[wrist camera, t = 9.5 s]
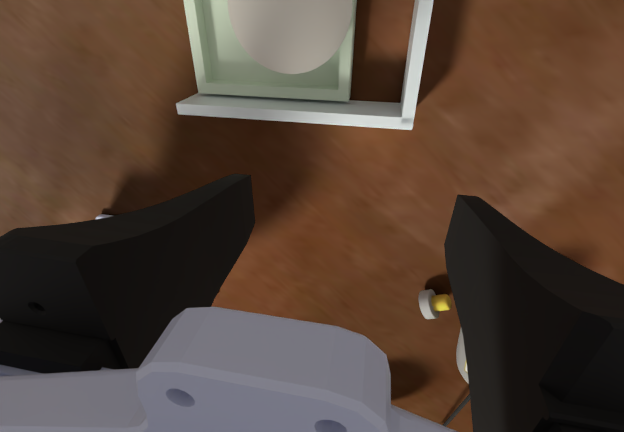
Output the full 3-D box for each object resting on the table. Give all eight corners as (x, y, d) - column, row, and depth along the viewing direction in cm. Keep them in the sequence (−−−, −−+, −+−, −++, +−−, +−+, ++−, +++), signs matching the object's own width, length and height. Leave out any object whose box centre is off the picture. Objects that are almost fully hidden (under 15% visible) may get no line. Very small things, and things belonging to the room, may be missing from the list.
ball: (225, 70, 18) (255, 90, 14) (206, -63, 15) (236, -91, 11) (320, 61, 20) (372, 76, 16) (319, -59, 17) (382, -82, 13)
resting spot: (207, 88, 22) (198, 93, 21) (179, -104, 17) (165, -110, 16) (350, 96, 20) (348, 101, 19) (364, -111, 15) (362, -119, 14)
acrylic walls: (202, 101, 22) (177, 114, 20) (173, -79, 17) (137, -93, 15) (409, 113, 20) (412, 129, 18) (441, -87, 15) (451, -104, 13)
